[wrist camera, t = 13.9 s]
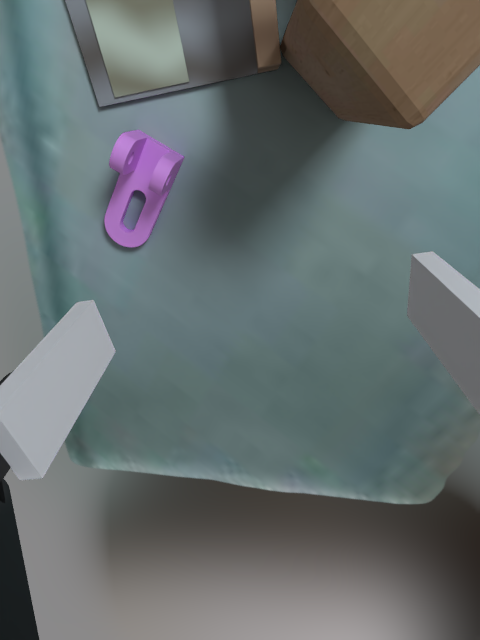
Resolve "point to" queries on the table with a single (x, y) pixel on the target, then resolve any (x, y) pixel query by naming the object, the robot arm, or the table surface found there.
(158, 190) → the bracket
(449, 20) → the wooden block
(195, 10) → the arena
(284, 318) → the table surface
